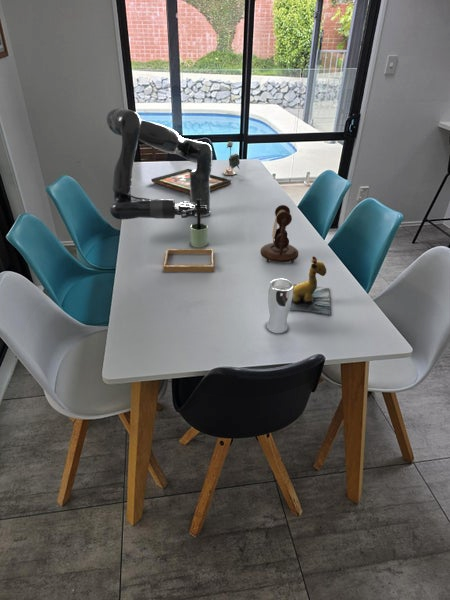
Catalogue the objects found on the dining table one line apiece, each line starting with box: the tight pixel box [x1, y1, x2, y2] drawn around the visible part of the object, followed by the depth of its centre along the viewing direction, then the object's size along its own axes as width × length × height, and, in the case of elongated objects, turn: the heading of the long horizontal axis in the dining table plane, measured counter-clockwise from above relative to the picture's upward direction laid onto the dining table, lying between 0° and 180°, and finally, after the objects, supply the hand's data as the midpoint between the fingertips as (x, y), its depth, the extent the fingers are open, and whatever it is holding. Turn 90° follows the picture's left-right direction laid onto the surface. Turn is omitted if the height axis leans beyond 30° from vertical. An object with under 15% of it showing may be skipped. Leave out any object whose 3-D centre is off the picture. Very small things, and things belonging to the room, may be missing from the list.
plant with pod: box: [222, 140, 241, 176], centre depth 246 cm, size 8×11×20 cm
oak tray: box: [162, 248, 214, 273], centre depth 152 cm, size 18×14×2 cm
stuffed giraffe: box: [290, 255, 331, 316], centre depth 129 cm, size 16×18×16 cm
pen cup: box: [189, 222, 209, 248], centre depth 163 cm, size 7×7×8 cm
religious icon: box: [151, 168, 232, 195], centre depth 232 cm, size 38×35×3 cm
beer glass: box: [266, 278, 294, 334], centre depth 115 cm, size 7×7×15 cm
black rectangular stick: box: [196, 199, 202, 230], centre depth 161 cm, size 4×1×18 cm, turn 2°
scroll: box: [260, 204, 299, 264], centre depth 152 cm, size 15×15×20 cm
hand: (206, 209), depth 159 cm, fingers closed on black rectangular stick, 1 cm apart
